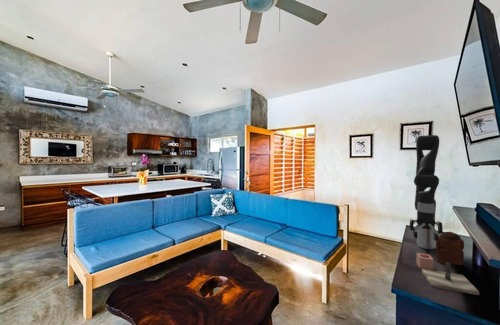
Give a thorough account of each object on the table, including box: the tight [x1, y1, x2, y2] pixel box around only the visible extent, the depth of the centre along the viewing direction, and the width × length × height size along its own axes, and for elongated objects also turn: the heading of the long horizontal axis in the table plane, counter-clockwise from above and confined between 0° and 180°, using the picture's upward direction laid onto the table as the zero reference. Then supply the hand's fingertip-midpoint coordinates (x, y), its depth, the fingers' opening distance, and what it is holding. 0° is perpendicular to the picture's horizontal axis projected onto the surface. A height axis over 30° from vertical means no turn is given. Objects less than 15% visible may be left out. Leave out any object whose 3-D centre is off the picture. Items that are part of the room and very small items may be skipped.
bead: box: [416, 252, 435, 270], centre depth 119 cm, size 6×6×6 cm
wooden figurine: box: [435, 231, 465, 266], centre depth 122 cm, size 12×6×18 cm, turn 77°
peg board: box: [421, 262, 480, 296], centre depth 105 cm, size 14×17×10 cm
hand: (425, 239), depth 118 cm, fingers open, 8 cm apart
